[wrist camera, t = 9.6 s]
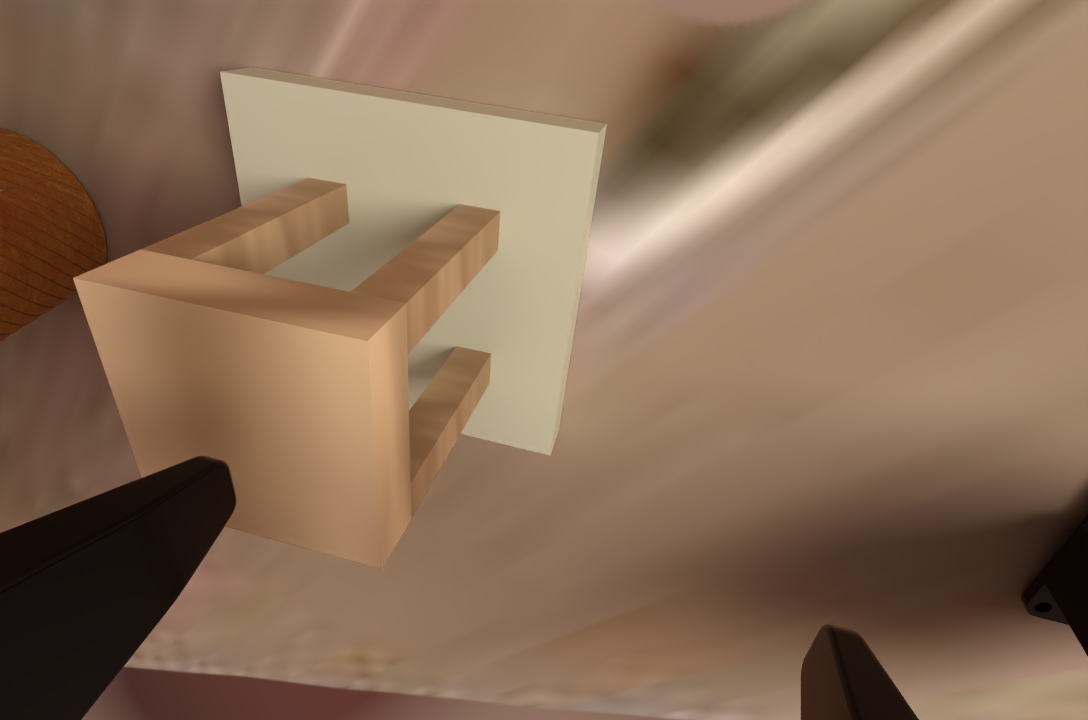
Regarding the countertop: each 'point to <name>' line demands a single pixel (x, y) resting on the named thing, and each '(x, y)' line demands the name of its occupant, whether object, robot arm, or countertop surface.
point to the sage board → (422, 201)
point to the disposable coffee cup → (41, 232)
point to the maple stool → (292, 366)
